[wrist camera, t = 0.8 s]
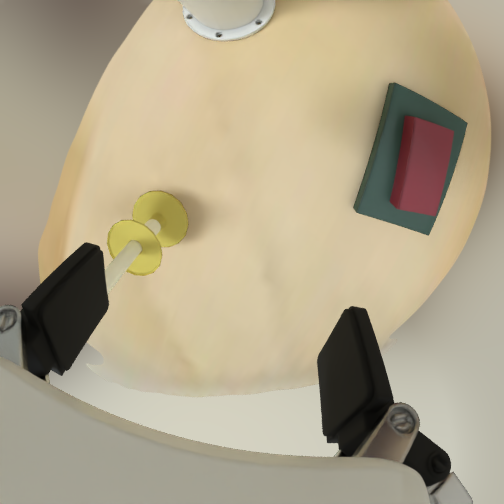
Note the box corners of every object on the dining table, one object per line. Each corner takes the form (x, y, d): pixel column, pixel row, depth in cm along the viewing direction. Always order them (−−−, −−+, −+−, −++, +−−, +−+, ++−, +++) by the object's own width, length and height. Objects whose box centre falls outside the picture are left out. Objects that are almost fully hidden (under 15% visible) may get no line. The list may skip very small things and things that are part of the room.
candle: (196, 241, 44) (126, 381, 21) (145, 250, 46) (62, 370, 22) (177, 183, 39) (65, 295, 16) (125, 198, 41) (10, 299, 18)
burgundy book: (404, 115, 29) (414, 116, 27) (443, 128, 29) (454, 131, 26) (389, 201, 36) (397, 209, 33) (426, 208, 35) (435, 216, 33)
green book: (389, 83, 29) (394, 82, 27) (460, 121, 29) (467, 123, 28) (353, 207, 39) (356, 212, 37) (423, 230, 39) (428, 235, 38)
